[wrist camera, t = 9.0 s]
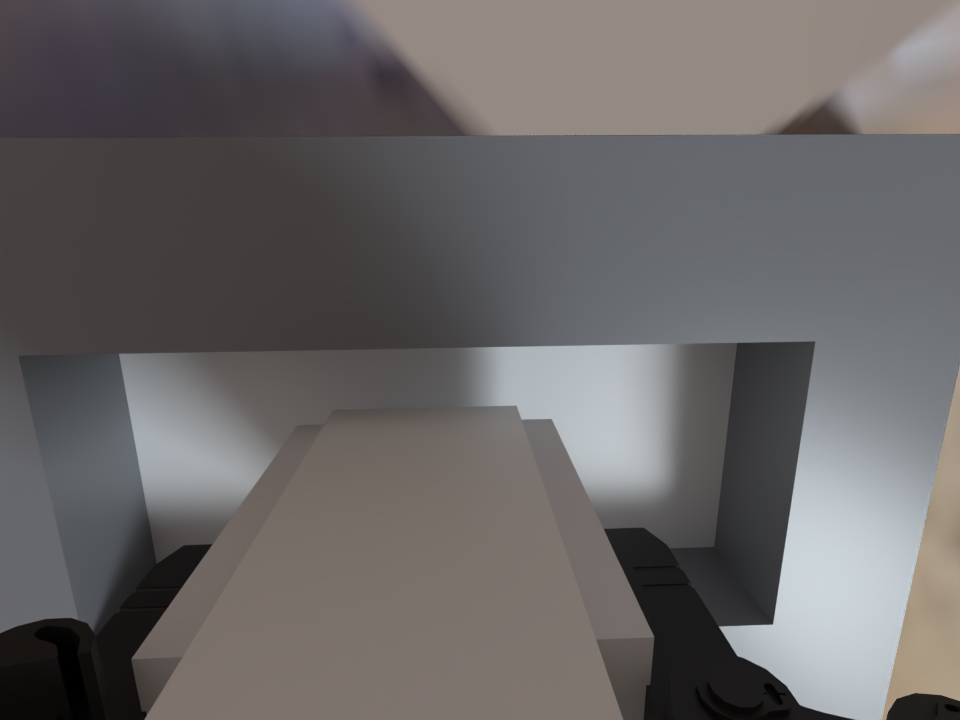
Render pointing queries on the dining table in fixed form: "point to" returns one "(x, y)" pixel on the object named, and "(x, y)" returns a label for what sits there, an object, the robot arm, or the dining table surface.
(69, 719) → the robot arm
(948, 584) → the dining table surface
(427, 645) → the plug
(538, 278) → the block
